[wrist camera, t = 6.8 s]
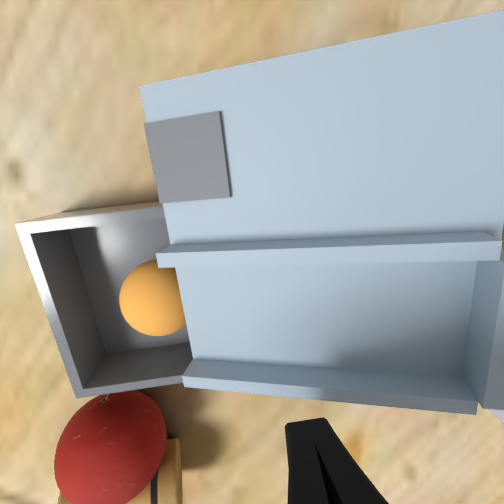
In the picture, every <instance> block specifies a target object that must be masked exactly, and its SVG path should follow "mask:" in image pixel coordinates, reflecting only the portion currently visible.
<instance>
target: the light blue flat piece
mask: <svg viewBox="0 0 504 504" xmlns="http://www.w3.org/2000/svg"><path fill="white" fill-rule="evenodd" d="M139 87H140V92H141V97H142V102H143V107H144V112H145V117H146V122H147V123H144V127H145V132H146V137H147V142H148V147H149V152H150V157H151V162H152V167H153V172H154V177H155V182H156V187H157V192H158V197H159V202H160V204H161V203H163V208H164V214H165V219H166V224H167V229H168V234H169V239H170V244H171V245H169V246H168V247H166V248H164V249H162V250H161V251H159V252H157V253H155V254H156V258H157V263H158V268H172V267H175V269H176V274H177V279H178V285H179V290H180V295H181V300H182V305H183V310H184V315H185V320H186V325H187V330H188V335H189V340H190V345H191V350H192V356H193V360H192V361H191V363H190V364H189V366H188V367H187V369H186V370H185V372H184V374H183V375H182V379H183V384H184V387H190V388H200V389H211V390H221V391H231V392H242V393H252V394H263V395H273V396H284V397H294V398H305V399H315V400H325V401H336V402H346V403H357V404H367V405H378V406H388V407H399V408H409V409H420V410H430V411H440V412H451V413H461V414H472V415H476V412H477V405H478V402H479V403H480V405H481V407H482V408H484V409H495V410H504V250H503V249H501V248H502V240H501V238H502V232H503V225H504V10H501V11H496V12H492V13H487V14H482V15H477V16H472V17H468V18H463V19H458V20H453V21H448V22H444V23H439V24H434V25H429V26H424V27H420V28H415V29H410V30H405V31H400V32H396V33H391V34H386V35H381V36H377V37H372V38H367V39H362V40H357V41H353V42H348V43H343V44H338V45H333V46H329V47H324V48H319V49H314V50H309V51H305V52H300V53H295V54H290V55H285V56H281V57H276V58H271V59H266V60H261V61H257V62H252V63H247V64H242V65H237V66H233V67H228V68H223V69H218V70H213V71H209V72H204V73H199V74H194V75H189V76H185V77H180V78H175V79H170V80H165V81H161V82H156V83H151V84H146V85H141V86H139Z"/></svg>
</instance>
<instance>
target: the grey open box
mask: <svg viewBox="0 0 504 504" xmlns="http://www.w3.org/2000/svg"><path fill="white" fill-rule="evenodd" d="M15 227H16V230H17V233H18V235H19V238H20V241H21V244H22V247H23V249H24V252H25V255H26V258H27V261H28V264H29V266H30V269H31V272H32V275H33V278H34V281H35V283H36V286H37V289H38V292H39V295H40V297H41V300H42V303H43V306H44V309H45V312H46V314H47V317H48V320H49V323H50V326H51V329H52V331H53V334H54V337H55V340H56V343H57V345H58V348H59V351H60V354H61V357H62V360H63V362H64V365H65V368H66V371H67V374H68V377H69V379H70V382H71V385H72V388H73V391H74V393H75V396H76V398H82V397H89V396H96V395H102V394H109V393H116V392H123V391H130V390H137V389H143V388H150V387H157V386H164V385H171V384H177V383H183V379H182V375H183V374H184V372H185V370H186V369H187V367H188V366H189V364H190V363H191V361H192V360H193V356H192V350H191V345H190V340H189V335H188V330H187V325H185V326H184V327H183V328H182V329H180V330H179V331H177V332H174V333H172V334H169V335H164V336H151V335H146V334H143V333H141V332H139V331H137V330H135V329H134V328H133V327H132V326H131V325H130V324H129V323H128V322H127V321H126V320H125V318H124V316H123V314H122V312H121V309H120V303H119V295H120V290H121V287H122V284H123V282H124V280H125V279H126V277H127V276H128V274H129V273H130V272H131V271H132V270H133V269H134V268H136V267H137V266H139V265H140V264H142V263H144V262H147V261H150V260H155V259H157V258H156V254H155V253H157V252H159V251H161V250H162V249H164V248H166V247H168V246H169V245H171V244H170V239H169V234H168V229H167V224H166V219H165V214H164V208H163V203H161V204H160V202H159V201H154V202H145V203H137V204H128V205H120V206H111V207H102V208H94V209H85V210H77V211H68V212H60V213H56V214H52V215H48V216H44V217H40V218H36V219H32V220H28V221H24V222H20V223H16V224H15Z"/></svg>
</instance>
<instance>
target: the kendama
mask: <svg viewBox="0 0 504 504" xmlns="http://www.w3.org/2000/svg"><path fill="white" fill-rule="evenodd" d="M166 437H167V433H166V425H165V421H164V417H163V414H162V412H161V410H160V408H159V407H158V405H157V404H156V403H155V402H154V401H153V400H152V399H151V398H150V397H149V396H147V395H146V394H144V393H142V392H139V391H136V390H130V391H123V392H116V393H109V394H102V395H99V396H97V397H95V398H94V399H92V400H90V401H89V402H88V403H86V404H85V405H84V406H83V407H81V408H80V409H79V410H78V411H77V412H76V413H75V414H74V415H73V417H72V418H71V419H70V421H69V422H68V424H67V425H66V427H65V429H64V431H63V433H62V435H61V437H60V439H59V442H58V444H57V449H56V454H55V460H54V470H55V478H56V482H57V485H58V488H59V490H60V494H59V498H58V504H182V466H181V451H180V441H179V439H178V438H174V439H167V440H166Z"/></svg>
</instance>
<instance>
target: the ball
mask: <svg viewBox="0 0 504 504" xmlns="http://www.w3.org/2000/svg"><path fill="white" fill-rule="evenodd" d="M119 303H120V309H121V312H122V314H123V316H124V318H125V320H126V321H127V322H128V323H129V324H130V325H131V326H132V327H133V328H134V329H135V330H137V331H139V332H141V333H143V334H146V335H151V336H164V335H169V334H172V333H174V332H177V331H179V330H180V329H182V328H183V327H184V326H185V325H186V320H185V315H184V310H183V305H182V300H181V295H180V290H179V285H178V279H177V274H176V269H175V267H172V268H158V263H157V259H155V260H150V261H147V262H144V263H142V264H140V265H139V266H137V267H136V268H134V269H133V270H132V271H131V272H130V273H129V274H128V276H127V277H126V279H125V280H124V282H123V284H122V287H121V290H120V295H119Z"/></svg>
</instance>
